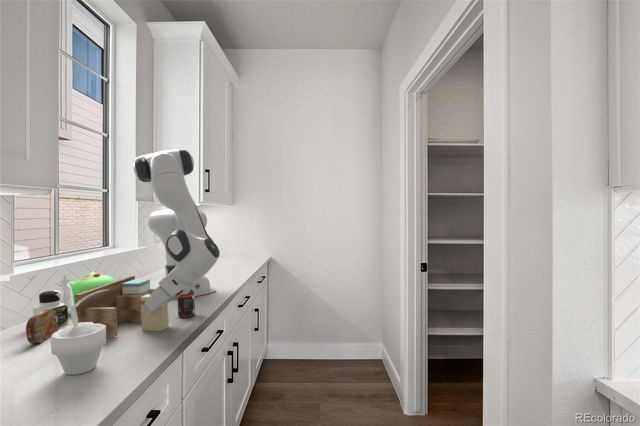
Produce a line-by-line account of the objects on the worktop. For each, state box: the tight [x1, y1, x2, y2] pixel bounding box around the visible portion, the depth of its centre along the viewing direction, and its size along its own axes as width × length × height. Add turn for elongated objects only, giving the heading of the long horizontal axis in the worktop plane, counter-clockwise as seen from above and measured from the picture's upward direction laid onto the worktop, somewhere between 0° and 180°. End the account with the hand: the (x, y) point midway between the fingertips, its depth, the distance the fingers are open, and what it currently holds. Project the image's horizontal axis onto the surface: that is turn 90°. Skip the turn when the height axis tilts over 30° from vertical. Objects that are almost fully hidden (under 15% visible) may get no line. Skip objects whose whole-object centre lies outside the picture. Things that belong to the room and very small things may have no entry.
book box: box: [140, 294, 169, 332], centre depth 121 cm, size 7×4×11 cm, turn 87°
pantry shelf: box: [75, 275, 157, 338], centre depth 126 cm, size 10×30×14 cm, turn 177°
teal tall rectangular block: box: [122, 278, 151, 296], centre depth 135 cm, size 6×7×13 cm
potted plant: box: [50, 273, 109, 376], centre depth 91 cm, size 13×12×25 cm
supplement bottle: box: [176, 289, 196, 319], centre depth 134 cm, size 6×6×11 cm
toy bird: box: [58, 271, 117, 305], centre depth 147 cm, size 18×17×15 cm
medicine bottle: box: [32, 289, 69, 327], centre depth 127 cm, size 7×7×12 cm
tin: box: [25, 308, 60, 345], centre depth 114 cm, size 15×3×8 cm, turn 12°
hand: (152, 310), depth 121 cm, fingers open, 5 cm apart
